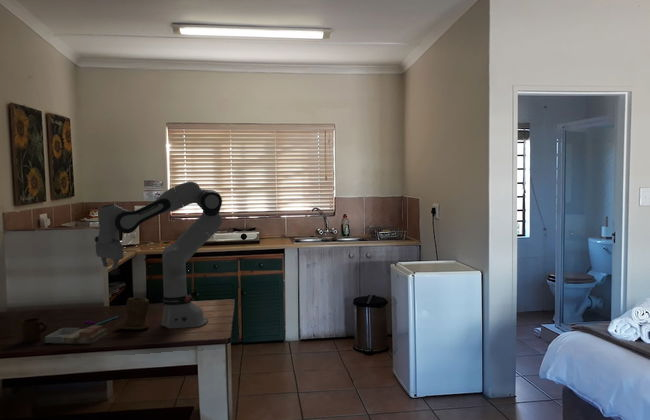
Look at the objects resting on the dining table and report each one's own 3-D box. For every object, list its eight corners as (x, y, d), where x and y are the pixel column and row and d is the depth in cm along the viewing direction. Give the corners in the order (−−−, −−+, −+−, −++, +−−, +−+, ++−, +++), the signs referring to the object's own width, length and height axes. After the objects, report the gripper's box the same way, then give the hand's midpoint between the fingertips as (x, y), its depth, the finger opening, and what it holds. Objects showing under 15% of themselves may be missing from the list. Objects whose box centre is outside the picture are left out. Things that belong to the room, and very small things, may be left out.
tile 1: (102, 329, 238) (102, 325, 237) (97, 332, 233) (96, 328, 232) (92, 329, 238) (91, 325, 238) (86, 332, 233) (86, 328, 233)
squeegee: (104, 314, 272) (119, 315, 269) (104, 317, 272) (119, 318, 269) (60, 330, 245) (76, 331, 242) (60, 333, 245) (76, 335, 242)
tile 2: (95, 333, 232) (95, 329, 231) (90, 336, 227) (90, 332, 226) (85, 333, 232) (85, 329, 232) (79, 336, 227) (79, 332, 227)
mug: (54, 339, 233) (52, 318, 232) (41, 344, 226) (39, 323, 225) (32, 337, 236) (31, 317, 235) (18, 342, 228) (17, 322, 228)
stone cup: (154, 325, 252) (153, 295, 251) (142, 332, 240) (141, 300, 240) (126, 324, 255) (125, 295, 254) (113, 331, 243) (111, 300, 242)
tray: (79, 334, 240) (79, 327, 240) (62, 343, 226) (62, 336, 226) (62, 334, 240) (62, 327, 240) (45, 343, 226) (44, 336, 226)
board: (107, 333, 239) (107, 328, 239) (92, 343, 225) (91, 337, 225) (80, 334, 240) (80, 328, 240) (63, 343, 226) (63, 337, 226)
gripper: (126, 239, 238) (127, 268, 239) (105, 236, 251) (106, 264, 252) (113, 240, 233) (114, 270, 234) (92, 237, 247) (93, 266, 247)
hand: (110, 267), depth 243 cm, fingers open, 8 cm apart
